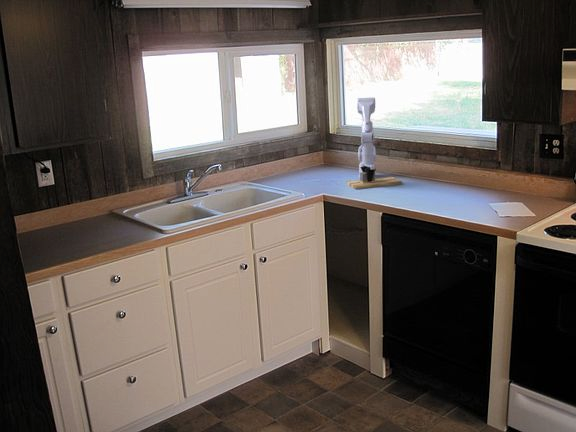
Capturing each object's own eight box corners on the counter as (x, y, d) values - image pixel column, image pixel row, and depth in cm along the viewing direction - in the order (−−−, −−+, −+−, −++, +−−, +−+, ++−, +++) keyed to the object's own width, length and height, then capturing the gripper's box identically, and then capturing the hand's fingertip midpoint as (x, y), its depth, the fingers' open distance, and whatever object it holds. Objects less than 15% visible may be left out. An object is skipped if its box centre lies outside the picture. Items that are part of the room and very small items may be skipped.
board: (346, 184, 337) (346, 181, 336) (391, 179, 343) (391, 176, 342) (355, 189, 324) (355, 186, 323) (402, 184, 329) (402, 181, 329)
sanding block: (360, 181, 333) (359, 172, 332) (372, 180, 335) (372, 171, 333) (362, 183, 329) (362, 174, 328) (375, 182, 331) (375, 172, 329)
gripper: (355, 153, 334) (356, 178, 338) (365, 158, 321) (365, 184, 324) (368, 152, 336) (368, 177, 339) (378, 156, 322) (378, 182, 326)
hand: (368, 180), depth 332 cm, fingers closed on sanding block, 4 cm apart
